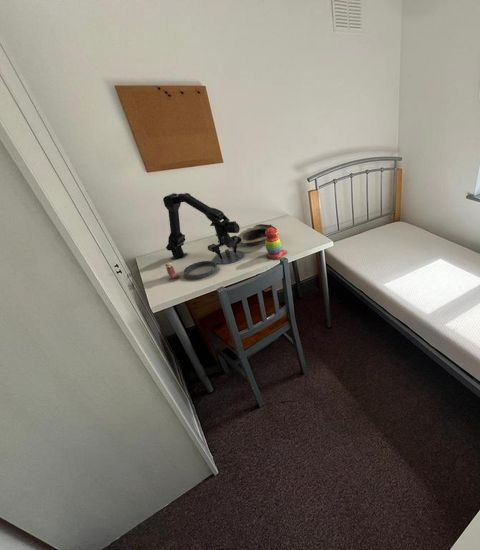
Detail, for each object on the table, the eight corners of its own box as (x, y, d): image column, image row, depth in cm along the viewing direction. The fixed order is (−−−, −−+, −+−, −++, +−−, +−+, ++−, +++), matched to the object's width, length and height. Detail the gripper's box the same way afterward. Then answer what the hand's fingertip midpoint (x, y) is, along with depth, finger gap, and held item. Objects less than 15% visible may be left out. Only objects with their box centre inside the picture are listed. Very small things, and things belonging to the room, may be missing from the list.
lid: (219, 252, 185) (216, 244, 182) (247, 251, 186) (245, 243, 183) (209, 266, 170) (206, 257, 167) (239, 264, 171) (237, 255, 168)
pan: (193, 266, 170) (191, 261, 169) (222, 264, 172) (220, 260, 170) (180, 281, 156) (178, 276, 155) (212, 279, 157) (210, 274, 156)
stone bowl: (283, 236, 205) (281, 224, 200) (266, 254, 186) (263, 241, 180) (252, 232, 210) (249, 221, 205) (232, 250, 190) (228, 237, 185)
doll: (172, 276, 160) (165, 260, 155) (179, 276, 161) (173, 260, 155) (168, 280, 157) (161, 264, 152) (176, 280, 157) (169, 264, 152)
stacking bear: (279, 259, 176) (274, 232, 166) (264, 258, 177) (258, 231, 168) (287, 251, 185) (282, 225, 175) (272, 250, 186) (267, 224, 177)
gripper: (214, 241, 159) (222, 266, 167) (243, 230, 172) (249, 253, 180) (203, 236, 164) (211, 261, 172) (232, 226, 177) (238, 249, 186)
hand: (228, 256), depth 177 cm, fingers open, 9 cm apart
